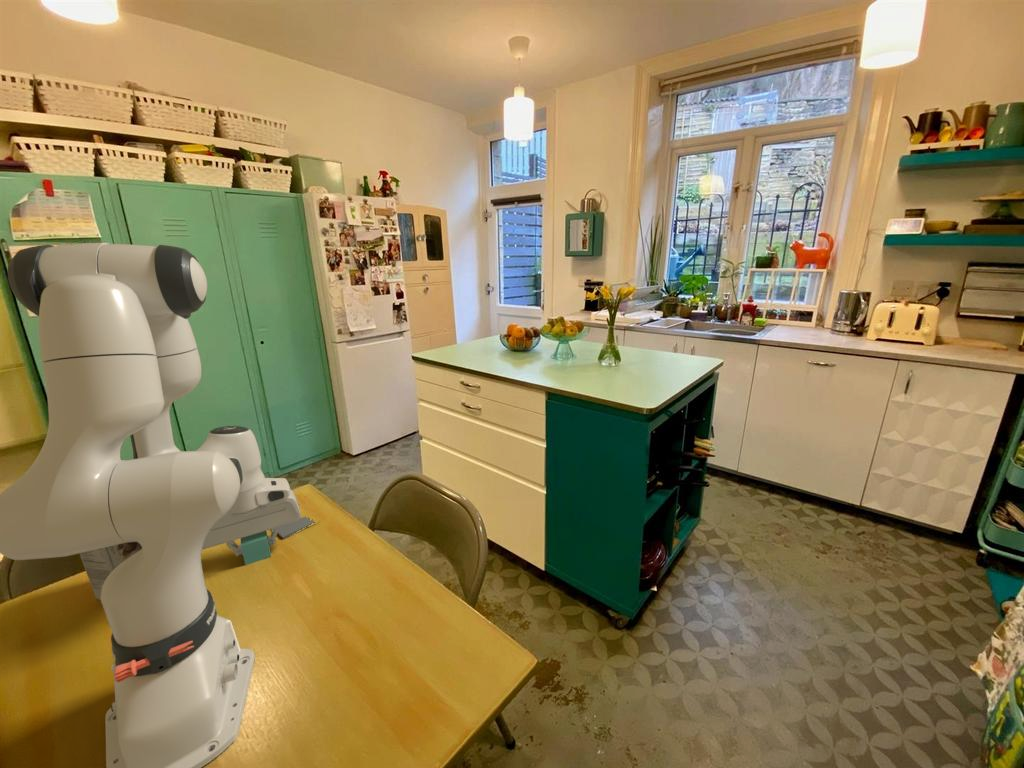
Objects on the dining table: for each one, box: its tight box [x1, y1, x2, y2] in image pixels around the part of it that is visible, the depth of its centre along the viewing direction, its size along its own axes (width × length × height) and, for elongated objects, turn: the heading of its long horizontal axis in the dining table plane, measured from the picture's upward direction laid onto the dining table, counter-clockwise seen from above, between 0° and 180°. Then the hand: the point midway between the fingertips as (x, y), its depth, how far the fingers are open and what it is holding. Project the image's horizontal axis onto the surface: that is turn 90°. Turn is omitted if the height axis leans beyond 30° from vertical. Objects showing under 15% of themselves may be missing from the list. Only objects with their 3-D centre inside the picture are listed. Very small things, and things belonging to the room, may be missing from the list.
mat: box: [277, 516, 315, 539], centre depth 109 cm, size 12×9×1 cm
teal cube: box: [240, 530, 272, 566], centre depth 96 cm, size 5×5×5 cm
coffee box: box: [78, 542, 142, 601], centre depth 86 cm, size 9×6×16 cm
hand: (256, 548), depth 96 cm, fingers closed on teal cube, 5 cm apart
